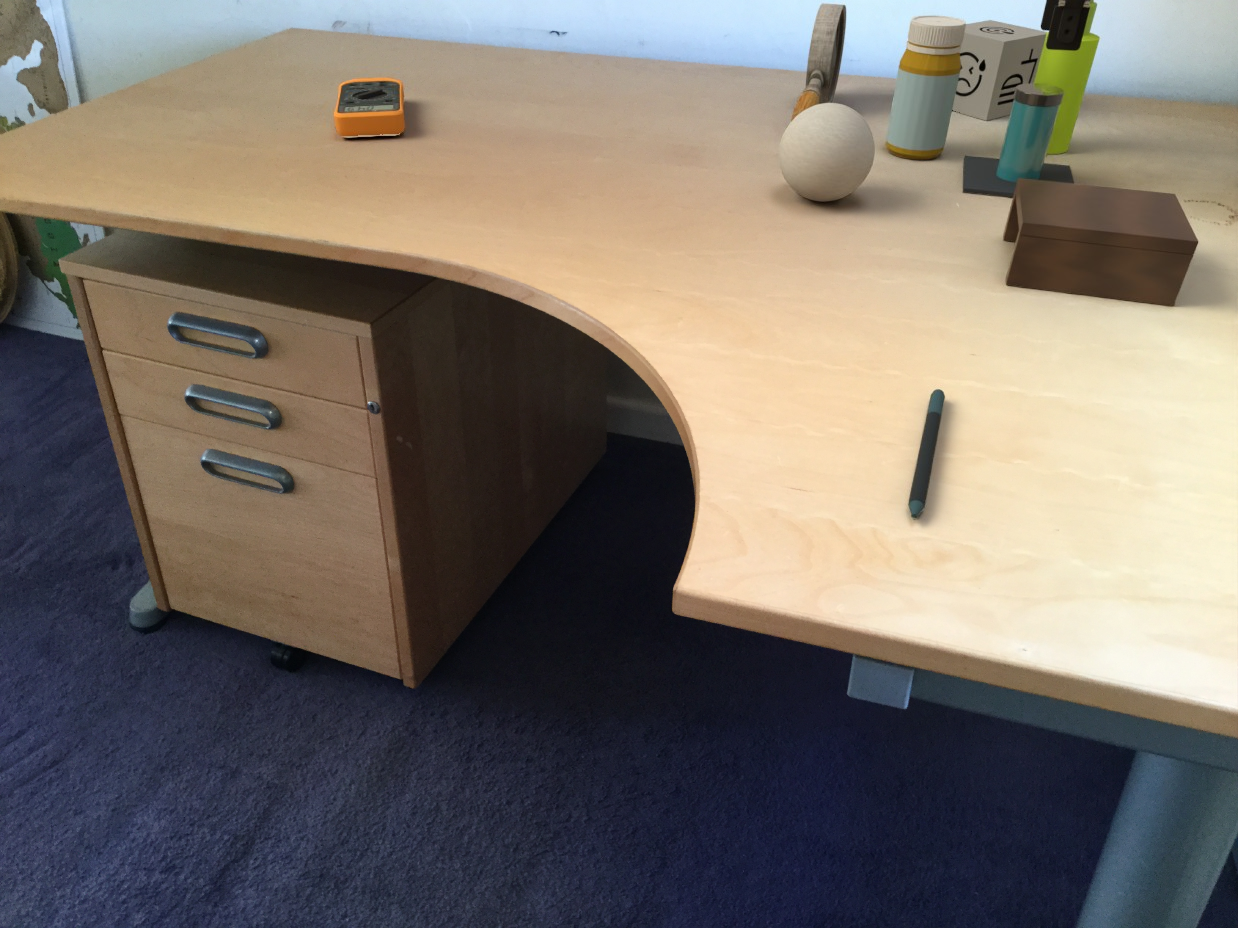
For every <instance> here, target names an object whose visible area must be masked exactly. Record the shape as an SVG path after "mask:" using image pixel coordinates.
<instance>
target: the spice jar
mask: <svg viewBox="0 0 1238 928" xmlns="http://www.w3.org/2000/svg"><path fill="white" fill-rule="evenodd" d="M1063 96H1064V90H1062V89H1061V88H1058V87H1055V86H1051V85H1045V84H1021V85H1018V86H1016V89H1015V93H1014V97H1013V99H1014V101H1013V105H1012V109H1011V113H1010V115H1009V118H1008V121H1007V126H1006V129H1005V134H1004V138H1003V142H1002V146H1001V151H1000V155H999V158H998V159H999V162H998V166H997V170H996V175H997V176H998V177H999V178H1001V179H1003V180H1006V181H1010V182H1015V183H1017V180H1018V178H1023V179H1033V180H1039V179H1040V176H1041V172H1042V169H1043V165H1044V163H1045V161H1046V157H1047V155H1048V154H1047V150H1048V147H1049V143H1050V139H1051V136H1052V132H1053V129H1054V125H1055V121H1056V118H1057V114H1058V110H1059V107H1060V104H1061V103H1062V99H1063Z"/></svg>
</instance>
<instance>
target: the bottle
mask: <svg viewBox="0 0 1238 928" xmlns="http://www.w3.org/2000/svg"><path fill="white" fill-rule="evenodd" d="M909 21H910V22H909V26H908V27H909V28H908V32H907V41H906V46H905V50H904V52H903V54H902V56H901V58H900V60H899V64H898V69H897V75H896V80H895V86H894V93H893V98H892V103H891V108H890V115H889V121H888V126H887V133H886V138H885V139H886V140H885V147H886V148H887V150H888V152H889V153H890V154H891V155H894V156H896V157H898V158H901V159H907V160H920V161H921V160H932V159H935V158H937V157H938V156H939V155H940V154H942V153H943V151H944V149H945V145H946V142H947V141H946V140H947V137H948V131H949V127H950V122H951V117H952V113H953V111H952V108H953V104H954V99H955V94H956V89H957V84H958V80H959V75H960V69H961V61H960V53H959V52H960V50H961V43H962V41H963V37H964V32H965V27H966V24H967V22H966V20H964V19H962V18H958V17H954V16H948V15H933V14H931V15H917V16H916V15H915V16H913V17H911V20H909Z"/></svg>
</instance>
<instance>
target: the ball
mask: <svg viewBox="0 0 1238 928" xmlns="http://www.w3.org/2000/svg"><path fill="white" fill-rule="evenodd" d="M790 122H791V123H789V124H788V125H787V127H786V128H785V130H784V132H783V134H782V136H781V140H780V144H779V146H778V147H779V148H778V163H779V167H780V171H781V174H782V177H783V178H784V180H785V182H786V183H787V185H788V186H789V187H790V188H791V189H792V190H793V191H795V193H797V194H798V195H799V196H801V197H803V198H804V199H807V200H811V201H813V202H814V201H815V202H833V201H836V200H840V199H842V198H844V197H847V196H849V195H850V194H852V193H853V192H854V191H856V190H857V189H858V188H859V187H860V186H861V185H862V184H863V182H865V180H866V178H867V177H868V176H869V173H870V172H871V169H872V166H873V163H874V159H875V154H876V153H875V151H876V149H875V147H876V146H875V145H876V144H875V138H874V134H873V132H872V129H871V127H870V126H869V123H868V122H867V120H866V119H865V118H864V117H863V115H861V114H860V113H859V112H858V111H856V110H855V109H854V108H852V107H850V106H848V105H845V104H842V103H837V102H832V103H823V104H818V105H815V106H812V107H810V108H808V109H806V110H804V111H803V112H801V113H800V114H799V115H797V116H796V117H795V118H794V119H793V120H792V121H791V120H790Z"/></svg>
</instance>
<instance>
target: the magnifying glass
mask: <svg viewBox="0 0 1238 928" xmlns="http://www.w3.org/2000/svg"><path fill="white" fill-rule="evenodd" d="M846 27H847V6H846V5H845V4H837V3H821V4H820V5H819V7H818V10H817V13H816V16H815V19H814V24H813V27H812V31H811V32H812V33H811V38H810V43H809V50H808V56H807V64H806V75H805V76H806V77H805V87H804V89H803V90H802V93H801V95H800V96H799V98H798V100H797V101H796V104H795V106H794V109H793V112H792V116H791V118H790V123H791V121H792V120H793V119H794V118H795V117H796V116H797V115H799V114H800V113H801V112H803V111H804V110H806V109H808V108H810V107H812V106H815V105H818V104H823V103H833V101H834V98H835V95H836V89H837V85H838V82H839V76H840V70H841V65H842V59H843V53H844V52H843V51H844V46H845V37H846V29H847V28H846ZM790 123H789V124H790Z"/></svg>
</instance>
